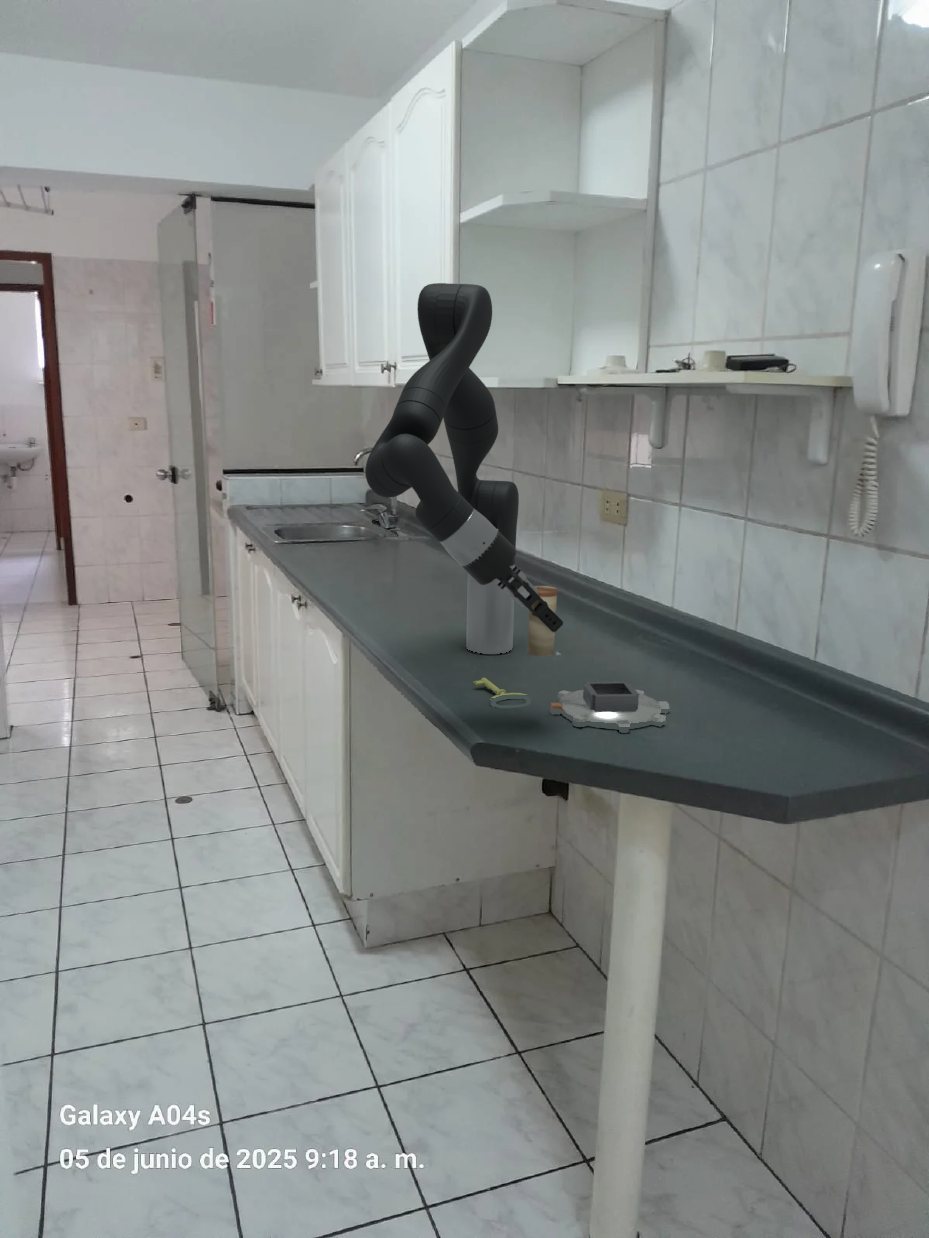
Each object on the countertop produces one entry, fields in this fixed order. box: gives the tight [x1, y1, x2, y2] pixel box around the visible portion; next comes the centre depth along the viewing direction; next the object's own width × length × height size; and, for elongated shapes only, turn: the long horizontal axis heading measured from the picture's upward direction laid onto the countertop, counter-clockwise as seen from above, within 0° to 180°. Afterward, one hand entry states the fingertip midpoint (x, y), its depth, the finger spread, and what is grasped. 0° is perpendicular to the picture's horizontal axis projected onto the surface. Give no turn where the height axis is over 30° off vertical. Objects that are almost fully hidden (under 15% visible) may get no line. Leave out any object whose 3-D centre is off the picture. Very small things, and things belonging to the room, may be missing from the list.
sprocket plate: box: [549, 681, 670, 727], centre depth 151 cm, size 19×19×4 cm
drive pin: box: [527, 585, 558, 657], centre depth 143 cm, size 4×4×10 cm
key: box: [472, 677, 527, 698], centre depth 158 cm, size 7×12×2 cm, turn 45°
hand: (554, 623), depth 144 cm, fingers closed on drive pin, 4 cm apart
